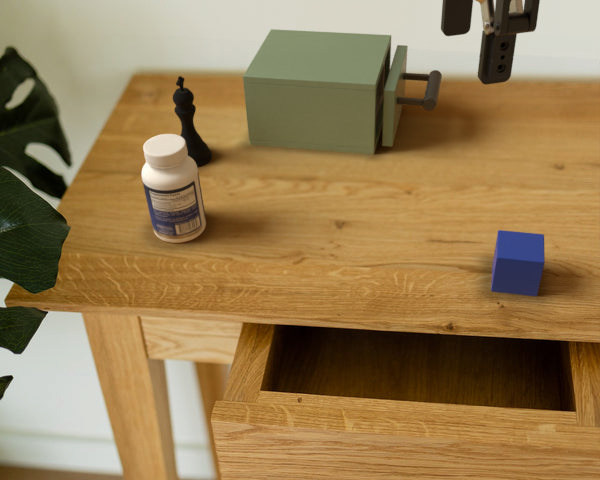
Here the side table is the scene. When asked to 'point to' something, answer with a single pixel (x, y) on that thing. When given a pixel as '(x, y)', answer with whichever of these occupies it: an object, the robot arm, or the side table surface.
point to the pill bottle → (172, 189)
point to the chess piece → (190, 125)
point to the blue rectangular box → (518, 263)
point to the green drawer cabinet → (316, 90)
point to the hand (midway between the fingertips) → (473, 55)
